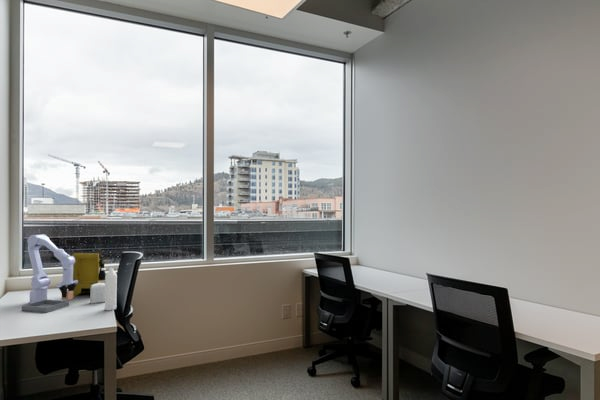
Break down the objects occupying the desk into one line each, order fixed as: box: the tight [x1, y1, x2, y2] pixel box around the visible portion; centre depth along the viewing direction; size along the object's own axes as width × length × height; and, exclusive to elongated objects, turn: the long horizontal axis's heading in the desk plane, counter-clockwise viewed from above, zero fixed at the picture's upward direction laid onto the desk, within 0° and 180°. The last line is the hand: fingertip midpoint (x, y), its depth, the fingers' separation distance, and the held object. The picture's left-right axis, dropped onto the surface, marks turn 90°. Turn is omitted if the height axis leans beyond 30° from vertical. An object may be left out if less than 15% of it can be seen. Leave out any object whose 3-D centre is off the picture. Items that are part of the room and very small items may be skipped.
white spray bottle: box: [101, 267, 118, 311], centre depth 226 cm, size 9×6×25 cm
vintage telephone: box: [71, 253, 109, 298], centre depth 265 cm, size 31×14×30 cm, turn 92°
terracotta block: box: [61, 289, 74, 301], centre depth 241 cm, size 5×4×5 cm
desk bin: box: [21, 299, 70, 314], centre depth 227 cm, size 18×16×3 cm
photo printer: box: [89, 282, 105, 304], centre depth 243 cm, size 10×4×12 cm, turn 123°
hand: (67, 296), depth 241 cm, fingers closed on terracotta block, 4 cm apart
